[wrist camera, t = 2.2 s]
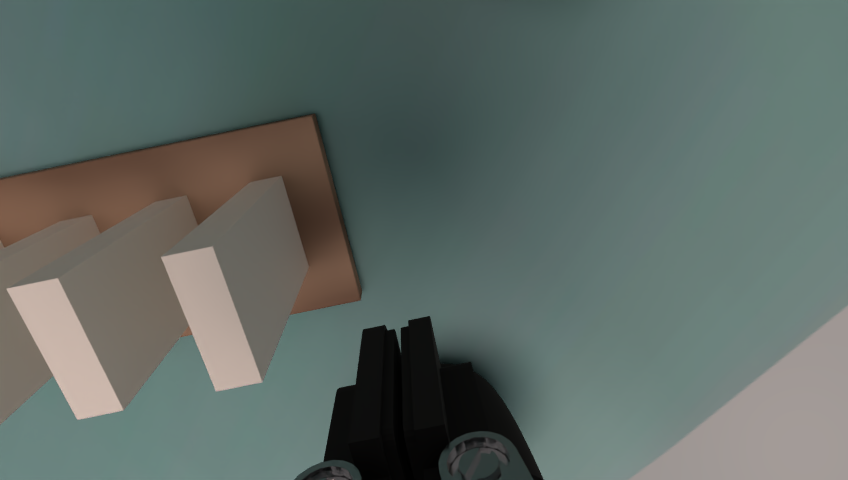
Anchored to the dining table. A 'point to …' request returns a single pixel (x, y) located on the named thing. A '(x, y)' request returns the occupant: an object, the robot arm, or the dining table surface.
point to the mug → (503, 421)
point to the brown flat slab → (201, 194)
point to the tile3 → (3, 325)
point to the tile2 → (108, 308)
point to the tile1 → (240, 281)
